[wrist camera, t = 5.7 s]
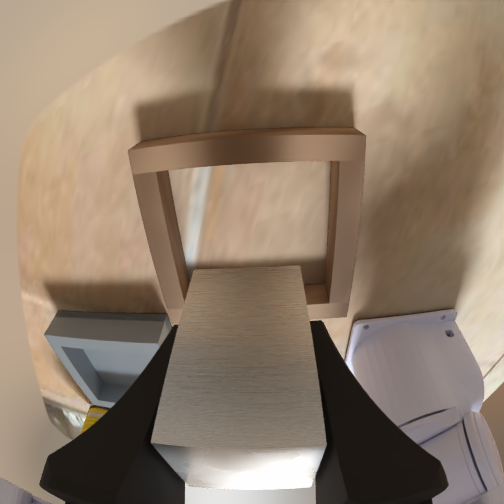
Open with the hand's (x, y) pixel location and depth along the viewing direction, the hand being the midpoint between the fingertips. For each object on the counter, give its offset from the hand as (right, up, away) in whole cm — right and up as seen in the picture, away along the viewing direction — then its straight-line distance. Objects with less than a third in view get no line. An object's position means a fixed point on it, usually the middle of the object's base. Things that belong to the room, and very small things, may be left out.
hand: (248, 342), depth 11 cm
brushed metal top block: (0, +1, +2) cm, 2 cm away
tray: (-11, -6, +15) cm, 19 cm away
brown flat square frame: (0, +5, +7) cm, 9 cm away
